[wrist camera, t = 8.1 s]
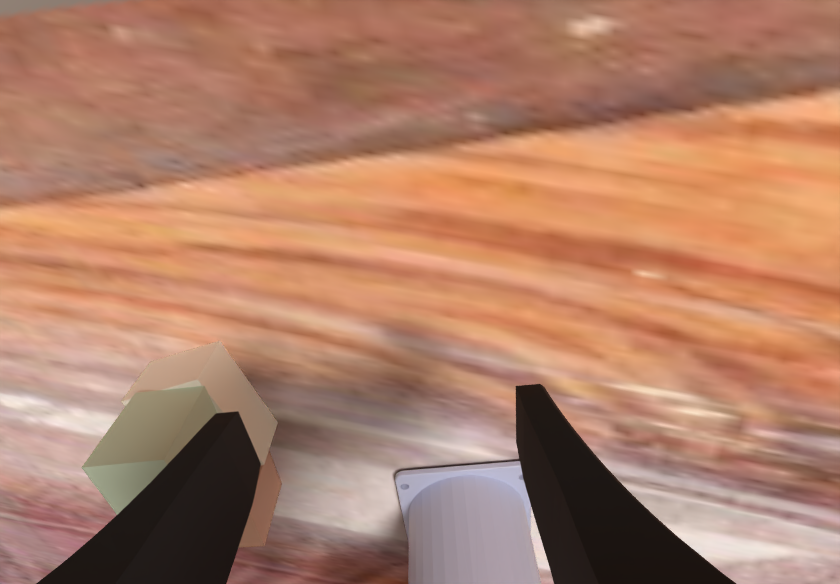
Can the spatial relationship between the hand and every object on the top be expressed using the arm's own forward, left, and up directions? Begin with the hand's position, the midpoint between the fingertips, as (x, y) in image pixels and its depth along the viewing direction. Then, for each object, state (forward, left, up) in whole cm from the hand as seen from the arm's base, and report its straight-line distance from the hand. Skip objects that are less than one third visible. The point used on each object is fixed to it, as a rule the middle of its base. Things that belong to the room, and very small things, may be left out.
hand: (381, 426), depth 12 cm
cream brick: (-7, +11, -10) cm, 16 cm away
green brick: (-7, +11, -7) cm, 15 cm away
